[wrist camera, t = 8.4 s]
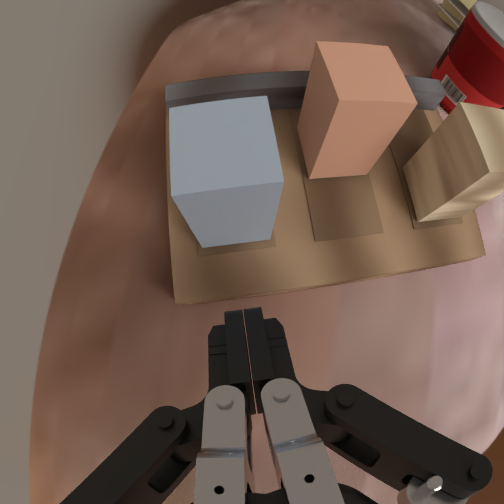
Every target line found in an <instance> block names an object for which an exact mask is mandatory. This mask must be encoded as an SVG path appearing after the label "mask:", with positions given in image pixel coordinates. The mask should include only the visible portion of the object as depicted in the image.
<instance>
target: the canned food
mask: <svg viewBox="0 0 504 504" xmlns="http://www.w3.org/2000/svg"><path fill="white" fill-rule="evenodd" d="M431 79H437V80H440V82H441V84H442V86H443V88H444V90H445V92H446V96H445V97H444V98H443V99H442V101H441V102H440V104H441V106H442V107H443V108H444V109H445V110H446V111H447V112H448V113H449V114H450V113H451V112H452V111H453V109H454V108H455V107H456V106H457V105H458V104H459V102H463V103H470V104H476V105H481V106H487V107H492V108H497V109H502V110H504V13H503V12H501V11H500V10H498V9H497V8H495V7H493V6H491V5H489V4H486V3H484V2H479V1H478V2H475V3H474V5H473V6H472V7H471V9H470V10H469V12H468V14H467V15H466V17H465V18H464V20H463V22H462V23H461V25H460V27H459V28H458V30H457V32H456V33H455V35H454V37H453V38H452V40H451V42H450V43H449V45H448V46H447V48H446V50H445V51H444V53H443V55H442V56H441V58H440V59H439V61H438V63H437V64H436V66H435V67H434V69H433V71H432V74H431Z"/></svg>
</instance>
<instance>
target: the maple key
mask: <svg viewBox="0 0 504 504" xmlns="http://www.w3.org/2000/svg"><path fill="white" fill-rule="evenodd" d="M403 171H404V174H405V177H406V181H407V184H408V187H409V191H410V194H411V198H412V201H413V205H414V209H415V213H416V216H417V220H418V222H422V221H431V220H440V219H449V218H458V217H462V216H464V215H465V214H467V213H469V212H470V211H472V210H474V209H476V208H477V207H479V206H481V205H482V204H484V203H486V202H487V201H489V200H491V199H492V198H494V197H496V196H497V195H499V194H500V193H502V192H504V110H502V109H497V108H492V107H487V106H481V105H476V104H470V103H463V102H459V104H458V105H457V106H456V107H455V108H454V109H453V111H452V112H451V113H450V114H449V115H448V117H447V118H446V119H445V120H444V121H443V122H442V124H441V125H440V126H439V127H438V128H437V129H436V130H435V132H434V133H433V134H432V135H431V136H430V137H429V139H428V140H427V141H426V142H425V143H424V144H423V145H422V146H421V148H420V149H419V150H418V151H417V152H416V153H415V154H414V155H413V157H412V158H411V159H410V160H409V161H408V162H407V163H406V164H405V165H404V167H403Z"/></svg>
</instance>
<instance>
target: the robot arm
mask: <svg viewBox="0 0 504 504" xmlns="http://www.w3.org/2000/svg"><path fill="white" fill-rule="evenodd" d="M224 314H225V325H217V326H213V327H212V329H211V331H210V333H209V335H208V347H209V348H208V355H209V357H208V361H209V390H208V393H207V395H206V397H205V398H204V399H203V400H202V401H201V402H200V403H198V404H197V405H194V406H192V407H189V408H187V409H184V410H181V411H180V410H179V409H178V408H176V407H173V406H163V407H159V408H157V409H156V410H154V411H153V412H152V413H151V414H150V415H149V416H148V417H147V418H146V419H145V420H144V421H143V422H142V423H141V424H140V425H139V426H138V427H137V428H136V429H135V430H134V431H133V432H132V433H131V434H130V435H129V436H128V437H127V438H126V439H125V440H124V441H123V442H122V443H121V444H120V445H119V446H118V447H117V448H116V449H115V450H114V451H113V452H112V453H111V454H110V455H109V456H108V457H107V458H106V459H105V460H104V461H103V462H102V463H101V464H100V465H99V466H98V467H97V468H96V469H95V470H94V471H93V472H92V473H91V474H90V475H89V476H88V477H87V478H86V479H85V480H84V481H83V482H82V483H81V484H80V485H79V486H78V487H77V488H76V489H75V490H74V491H72V492H71V493H70V494H69V495H68V496H67V497H66V498H65V499H64V500H63V501H62V502H61V503H60V504H162V503H163V502H164V500H165V499H166V498H167V497H168V496H169V495H170V494H171V493H172V492H173V490H174V489H175V488H176V487H177V486H178V485H179V484H180V483H181V481H182V480H183V479H184V478H185V477H186V476H187V475H188V473H189V472H190V471H191V470H192V469H193V468H194V466H195V465H196V470H195V487H194V502H193V503H191V504H378V503H376V502H375V501H373V500H372V499H370V498H369V497H367V496H366V495H364V494H363V493H361V492H360V491H358V490H356V489H354V488H352V487H350V486H347V485H344V484H339V483H337V480H336V477H335V474H334V472H333V469H332V466H331V463H330V460H329V457H328V454H327V452H326V449H325V446H327V447H328V448H330V449H331V450H333V451H334V452H336V453H337V454H339V455H340V456H342V457H343V458H345V459H346V460H348V461H350V462H351V463H353V464H354V465H356V466H357V467H359V468H361V469H362V470H364V471H366V472H367V473H369V474H370V475H372V476H374V477H375V478H377V479H379V480H380V481H382V482H384V483H386V484H387V485H389V486H391V487H393V488H394V489H396V490H398V491H399V493H398V497H397V501H398V504H465V503H466V501H467V500H468V498H469V497H470V496H471V495H473V494H474V493H476V492H478V491H479V490H481V489H482V488H484V487H485V486H486V485H487V484H488V483H489V481H490V479H491V477H492V465H491V463H490V461H489V460H488V459H487V458H486V457H485V456H483V455H481V454H479V453H477V452H475V451H473V450H471V449H469V448H467V447H465V446H463V445H461V444H459V443H457V442H455V441H453V440H451V439H449V438H447V437H445V436H444V435H442V434H440V433H438V432H436V431H434V430H432V429H430V428H428V427H427V426H425V425H423V424H421V423H419V422H417V421H415V420H414V419H412V418H410V417H408V416H406V415H405V414H403V413H401V412H399V411H397V410H396V409H394V408H392V407H390V406H389V405H387V404H385V403H383V402H382V401H380V400H378V399H376V398H375V397H373V396H371V395H369V394H368V393H366V392H364V391H363V390H361V389H359V388H357V387H356V386H353V385H350V384H340V385H337V386H335V387H333V388H331V389H330V390H329V391H318V390H311V389H308V388H306V387H304V386H303V385H301V384H300V383H299V382H298V381H297V379H296V377H295V373H294V369H293V365H292V361H291V357H290V353H289V349H288V345H287V340H286V337H285V332H284V328H283V326H282V324H281V323H280V322H279V321H278V320H277V319H276V318H271V319H263V314H262V309H261V307H258V308H250V309H244V317H245V325H246V333H247V340H246V333H245V326H244V320H243V313H242V310H235V311H227V312H225V313H224ZM247 341H248V348H249V356H250V363H249V356H248V348H247ZM250 364H251V371H250ZM251 372H252V379H253V386H254V392H255V399H256V405H257V411H258V414H260V413H263V417H264V424H265V431H266V435H267V439H268V443H269V447H270V451H271V455H272V459H273V463H274V467H275V471H276V476H277V481H278V485H279V490H276V491H274V492H271V493H268V494H259V493H255V485H254V477H253V454H252V420H251V415H253V414H256V409H255V402H254V394H253V387H252V379H251ZM324 445H325V446H324Z"/></svg>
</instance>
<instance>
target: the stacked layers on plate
mask: <svg viewBox="0 0 504 504" xmlns="http://www.w3.org/2000/svg"><path fill="white" fill-rule="evenodd" d="M475 2H477V1H476V0H444V1H443V3H442V4H438V6H439V7H440V9H439V11H438V13H437V15H438V16H439V17H440V18H441V19H443V20H444V21H445V22H446V23H447V24H448V25H450V26H451V27H452V28H453V29H454V30H455V31H456V30H457V28H459V27H460V25H461V23H462V22H463V20H464V18H465V17H466V15H467V14H468V12H469V10H470V9H471V7H472V6H473V5H474V3H475Z"/></svg>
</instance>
